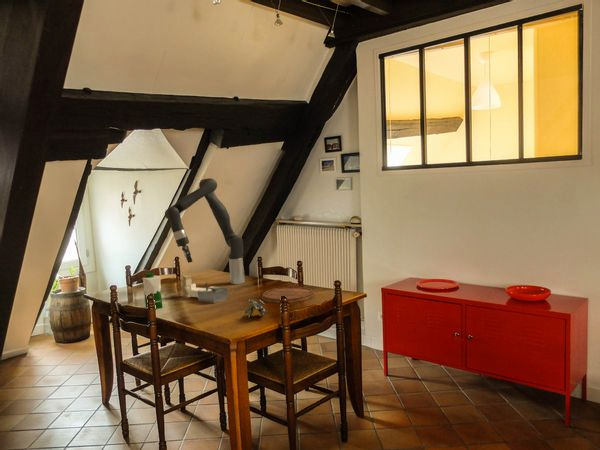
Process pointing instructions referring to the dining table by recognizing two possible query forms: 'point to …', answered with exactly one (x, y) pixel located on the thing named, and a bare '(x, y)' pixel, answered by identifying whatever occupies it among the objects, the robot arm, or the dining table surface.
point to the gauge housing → (213, 294)
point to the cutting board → (288, 294)
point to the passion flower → (255, 307)
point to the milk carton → (153, 288)
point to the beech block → (186, 285)
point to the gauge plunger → (195, 290)
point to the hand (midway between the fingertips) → (190, 262)
